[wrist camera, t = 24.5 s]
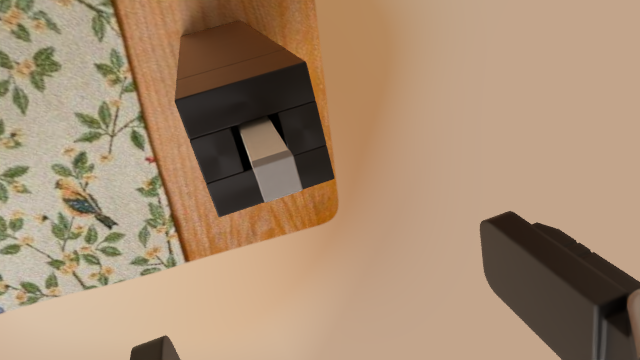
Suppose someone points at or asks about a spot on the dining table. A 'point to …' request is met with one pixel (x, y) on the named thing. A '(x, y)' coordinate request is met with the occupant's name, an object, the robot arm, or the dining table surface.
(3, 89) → the dining table surface
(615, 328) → the robot arm
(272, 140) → the grey square peg
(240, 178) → the holder
